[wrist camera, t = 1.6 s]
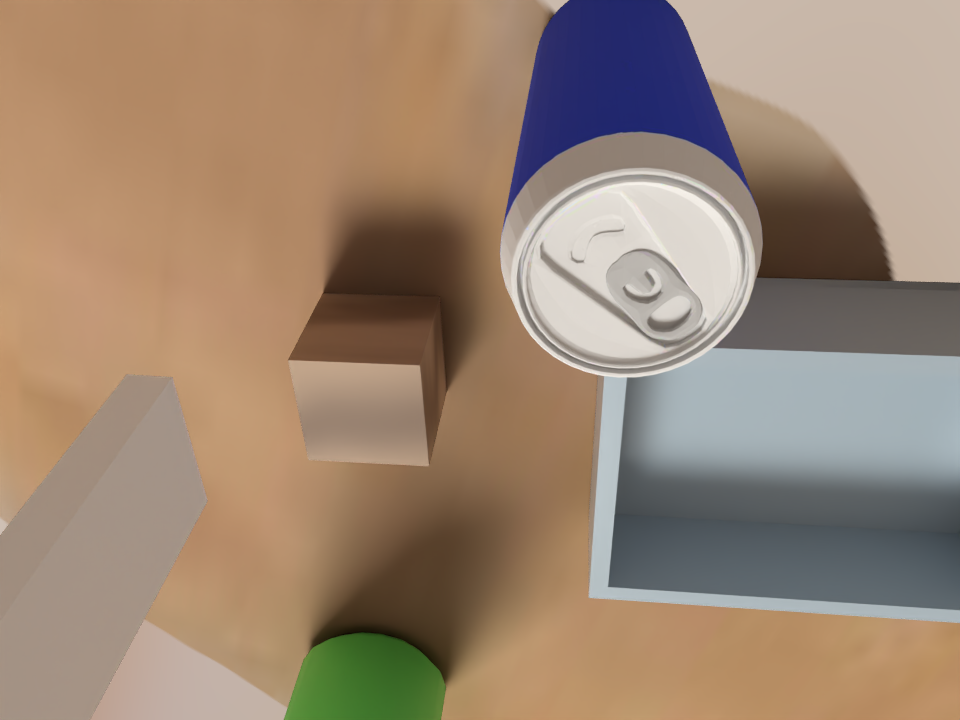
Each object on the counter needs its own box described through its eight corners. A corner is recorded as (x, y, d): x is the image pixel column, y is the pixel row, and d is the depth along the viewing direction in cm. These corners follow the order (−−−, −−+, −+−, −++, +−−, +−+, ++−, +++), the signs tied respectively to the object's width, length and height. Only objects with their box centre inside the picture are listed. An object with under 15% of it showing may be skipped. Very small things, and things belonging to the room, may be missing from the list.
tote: (604, 273, 32) (606, 344, 28) (1079, 285, 30) (1154, 363, 26) (588, 515, 40) (588, 597, 36) (965, 536, 38) (1010, 626, 34)
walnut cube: (323, 291, 34) (288, 360, 30) (440, 295, 34) (420, 365, 30) (338, 386, 37) (308, 459, 33) (446, 390, 37) (429, 466, 33)
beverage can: (505, 59, 28) (440, 273, 16) (622, -58, 26) (652, 89, 13) (603, 164, 30) (613, 428, 18) (721, 64, 27) (828, 291, 15)
